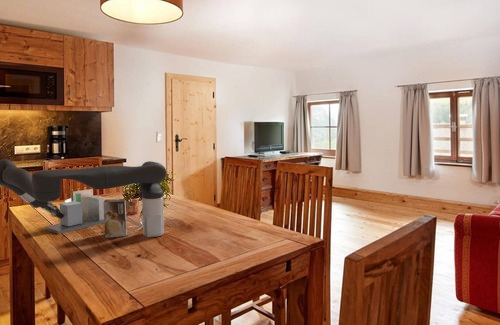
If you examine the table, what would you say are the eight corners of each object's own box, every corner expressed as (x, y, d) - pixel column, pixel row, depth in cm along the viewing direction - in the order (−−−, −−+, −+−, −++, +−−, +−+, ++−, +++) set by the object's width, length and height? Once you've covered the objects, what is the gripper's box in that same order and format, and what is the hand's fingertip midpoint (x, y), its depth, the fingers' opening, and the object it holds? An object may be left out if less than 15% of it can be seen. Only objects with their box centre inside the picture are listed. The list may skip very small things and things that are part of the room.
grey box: (68, 226, 164) (66, 195, 163) (59, 223, 169) (58, 193, 167) (82, 223, 170) (81, 192, 169) (73, 220, 175) (72, 191, 173)
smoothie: (120, 214, 195) (119, 178, 193) (132, 211, 202) (131, 176, 200) (131, 216, 191) (130, 180, 189) (142, 213, 198) (142, 178, 196)
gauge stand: (58, 234, 158) (56, 199, 157) (45, 229, 165) (43, 196, 164) (106, 222, 178) (105, 191, 176) (92, 218, 185) (91, 189, 183)
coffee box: (127, 232, 163) (126, 198, 161) (126, 236, 156) (125, 201, 155) (106, 233, 160) (105, 199, 158) (104, 238, 154) (103, 202, 152)
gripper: (20, 200, 156) (49, 221, 168) (34, 204, 149) (63, 226, 160) (32, 187, 160) (60, 208, 172) (46, 190, 153) (74, 212, 164)
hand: (62, 217), depth 166 cm, fingers closed
